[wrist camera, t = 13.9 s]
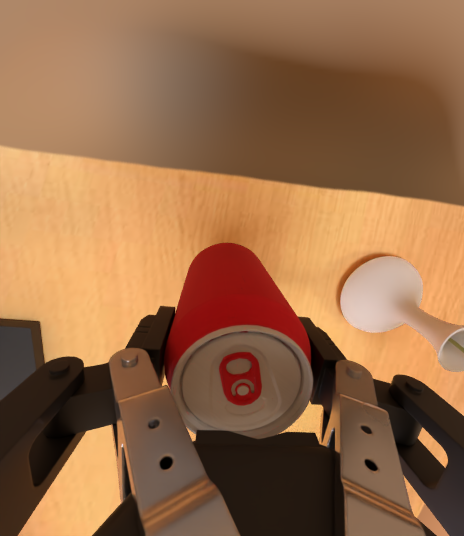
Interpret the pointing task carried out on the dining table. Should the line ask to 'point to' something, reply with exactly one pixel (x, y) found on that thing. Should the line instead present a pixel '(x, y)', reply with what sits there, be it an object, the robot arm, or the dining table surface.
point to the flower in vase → (398, 307)
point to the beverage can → (236, 348)
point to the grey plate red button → (18, 352)
